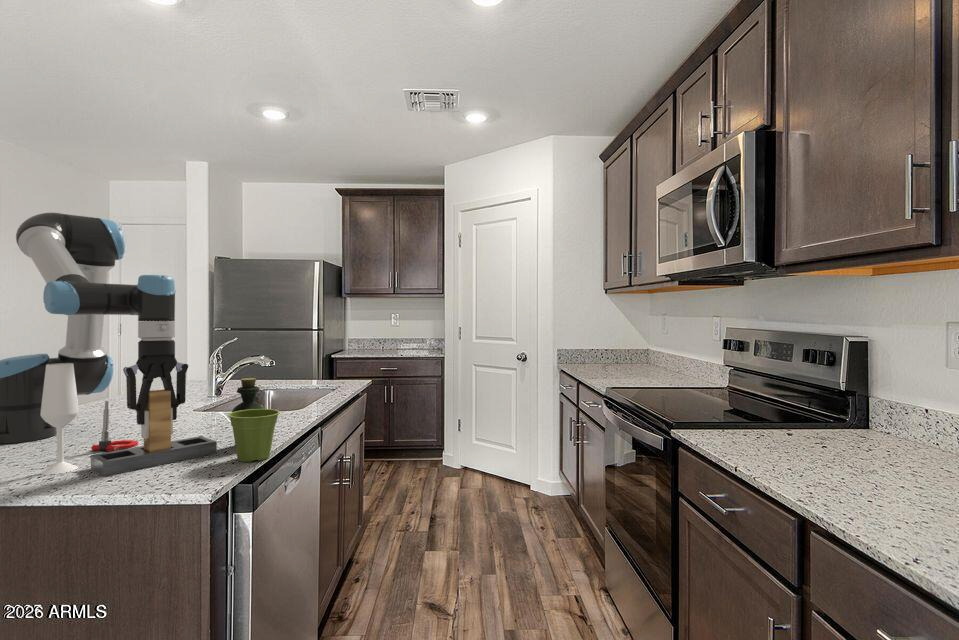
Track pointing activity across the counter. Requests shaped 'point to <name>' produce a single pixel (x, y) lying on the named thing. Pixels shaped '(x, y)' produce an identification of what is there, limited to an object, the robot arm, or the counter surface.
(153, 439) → the ochre peg
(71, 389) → the champagne flute
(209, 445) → the grey slotted tray
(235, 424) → the plant pot
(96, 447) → the tow hook
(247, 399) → the potion bottle
